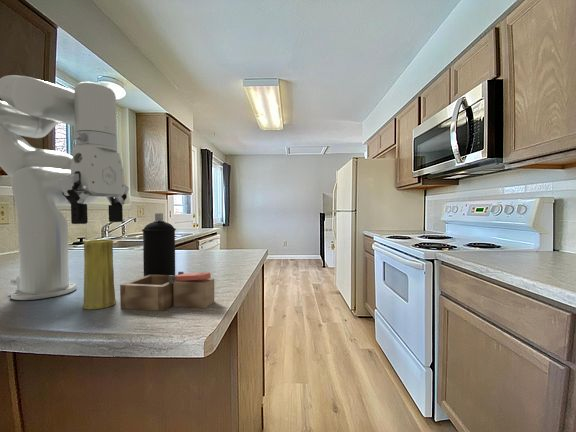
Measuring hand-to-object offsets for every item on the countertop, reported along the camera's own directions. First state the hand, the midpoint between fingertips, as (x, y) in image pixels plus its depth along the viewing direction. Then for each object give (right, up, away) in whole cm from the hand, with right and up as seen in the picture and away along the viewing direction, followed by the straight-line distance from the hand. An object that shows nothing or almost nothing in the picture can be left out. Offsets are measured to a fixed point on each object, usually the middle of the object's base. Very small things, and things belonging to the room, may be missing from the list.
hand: (99, 222), depth 63 cm
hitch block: (+15, -18, +2) cm, 24 cm away
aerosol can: (+7, -18, +14) cm, 24 cm away
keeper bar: (+20, -12, +1) cm, 23 cm away
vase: (0, -18, +1) cm, 18 cm away
